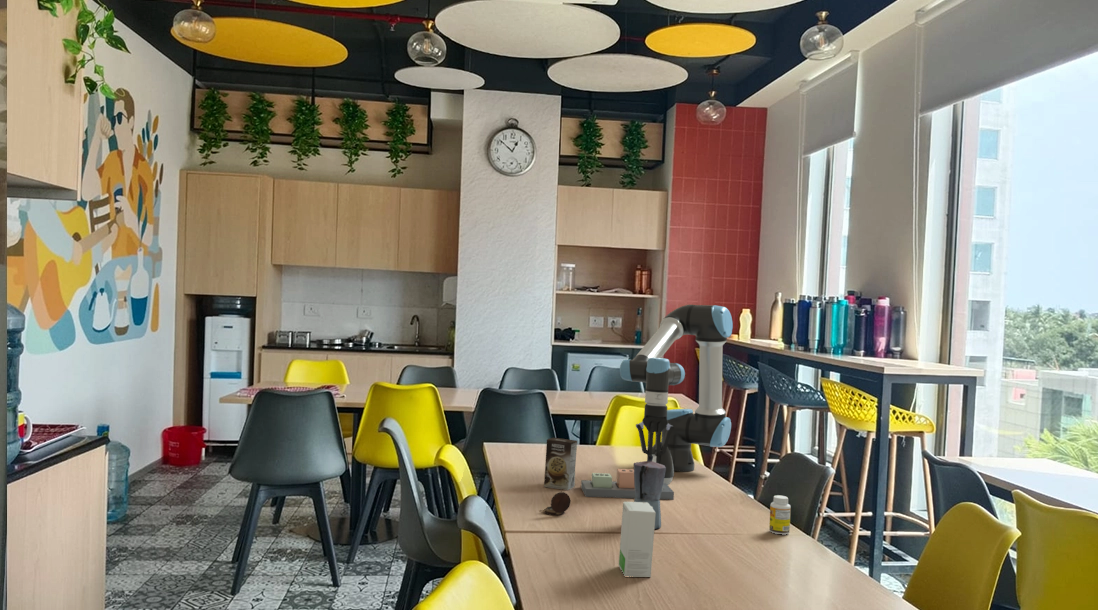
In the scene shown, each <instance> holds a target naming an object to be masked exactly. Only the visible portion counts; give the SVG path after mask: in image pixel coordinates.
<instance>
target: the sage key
mask: <svg viewBox="0 0 1098 610" xmlns="http://www.w3.org/2000/svg"><path fill="white" fill-rule="evenodd" d="M591 481H592V483H591V485H592V487H604V488H612V481H613V477H612V475H611V473H605V472H604V473H603V472H601V473H600V472H591Z"/></svg>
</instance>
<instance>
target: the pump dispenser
mask: <svg viewBox="0 0 1098 610" xmlns="http://www.w3.org/2000/svg"><path fill="white" fill-rule="evenodd" d="M662 443H663V442H660V450H661V447H662ZM652 455H655V444H654V445H653V448H652ZM659 464H662V465H664V466H665V467H666V472H665V477H664V482H663V483H666V484H667V485H668V486H669V485H670V484H671V483H672V480H673V478H674V476H675V471H674V467H673V461H672V456H671V453H670V450H669V448H668V446H667V449H666V452H665V454H662V455H660V456H659Z"/></svg>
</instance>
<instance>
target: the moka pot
mask: <svg viewBox="0 0 1098 610" xmlns="http://www.w3.org/2000/svg"><path fill="white" fill-rule="evenodd" d="M652 459H653V456H651V455H649V456H648V461H647V460H645V461H636V462H634V463H633V469H634V486H635V497H636V498H634V500H633V502H648V503H649V504H650V506H652V507H653V510H654V511H655V512H656V515H655V528H654V530H655V529H660V528H661V527H662V515H661V514H662V513H661V499H660V494H661V492H662V488H663V482H664V477H665V472H666V467H665V466H664V465H662V464H659V463H656V462H653V461H652Z"/></svg>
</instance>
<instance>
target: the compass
mask: <svg viewBox="0 0 1098 610" xmlns="http://www.w3.org/2000/svg"><path fill="white" fill-rule="evenodd" d="M571 502H572V501H571V497H570V495H569V494H568V493H566V492H564V491H562V490H561V491H558V492H557V493H555V494H554V495H553V497H552V498H551V500H550V506H546V508H544V509H539V510H538V512H540V513H545V514H546V513H547V514H546V515H549V514H551V515H550V516H562V515H561V514H563V515H564V514H565V513H566V511H567V510H569V508H570V506H571Z"/></svg>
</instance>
